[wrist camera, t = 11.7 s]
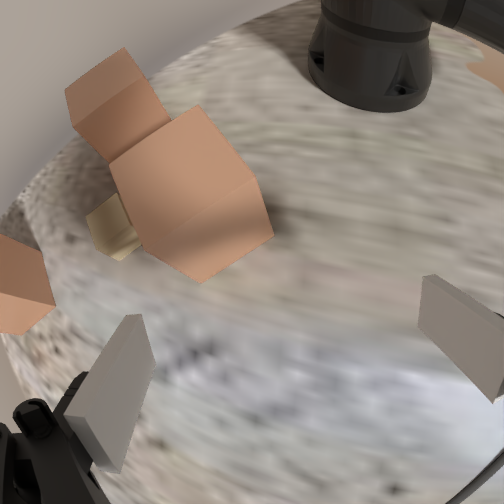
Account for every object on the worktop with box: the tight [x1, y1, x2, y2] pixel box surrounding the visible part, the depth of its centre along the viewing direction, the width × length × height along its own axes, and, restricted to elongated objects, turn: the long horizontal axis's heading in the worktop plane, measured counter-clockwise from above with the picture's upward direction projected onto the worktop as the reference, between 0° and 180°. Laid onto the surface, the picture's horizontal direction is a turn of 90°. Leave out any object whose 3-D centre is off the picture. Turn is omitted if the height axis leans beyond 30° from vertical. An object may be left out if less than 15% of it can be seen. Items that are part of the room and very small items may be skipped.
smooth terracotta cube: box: [108, 105, 274, 283], centre depth 23 cm, size 8×8×10 cm
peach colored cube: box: [65, 47, 172, 163], centre depth 28 cm, size 8×8×10 cm
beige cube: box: [86, 192, 142, 261], centre depth 28 cm, size 4×4×4 cm
